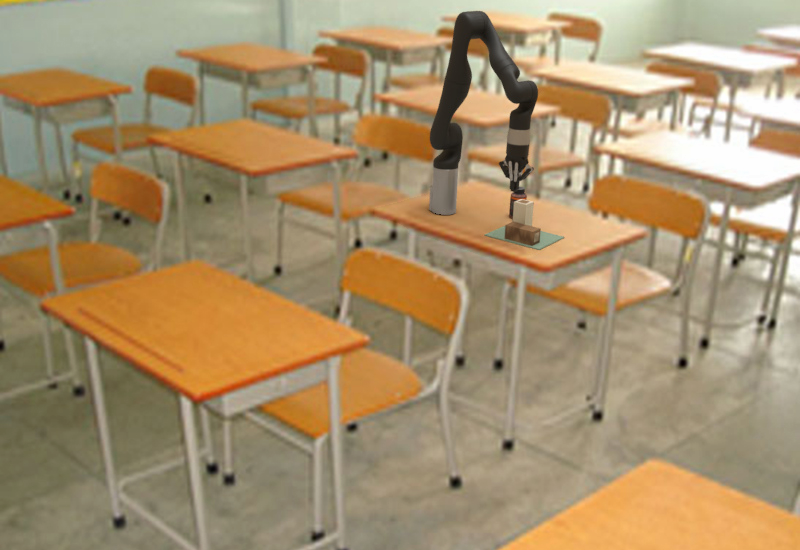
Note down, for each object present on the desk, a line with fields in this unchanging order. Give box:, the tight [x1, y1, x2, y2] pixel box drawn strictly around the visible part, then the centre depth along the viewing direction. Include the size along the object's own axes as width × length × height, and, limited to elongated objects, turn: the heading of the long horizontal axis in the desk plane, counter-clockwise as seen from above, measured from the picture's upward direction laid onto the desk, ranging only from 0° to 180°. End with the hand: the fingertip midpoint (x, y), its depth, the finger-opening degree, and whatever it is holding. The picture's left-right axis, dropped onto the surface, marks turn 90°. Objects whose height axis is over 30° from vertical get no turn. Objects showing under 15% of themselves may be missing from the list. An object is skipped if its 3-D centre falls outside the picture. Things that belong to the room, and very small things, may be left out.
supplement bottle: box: [508, 186, 528, 220], centre depth 360 cm, size 6×6×11 cm
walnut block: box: [504, 221, 542, 246], centre depth 336 cm, size 5×5×11 cm
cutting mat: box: [484, 225, 565, 251], centre depth 341 cm, size 22×17×1 cm
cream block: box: [512, 199, 535, 226], centre depth 343 cm, size 5×5×11 cm
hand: (514, 191), depth 333 cm, fingers closed
